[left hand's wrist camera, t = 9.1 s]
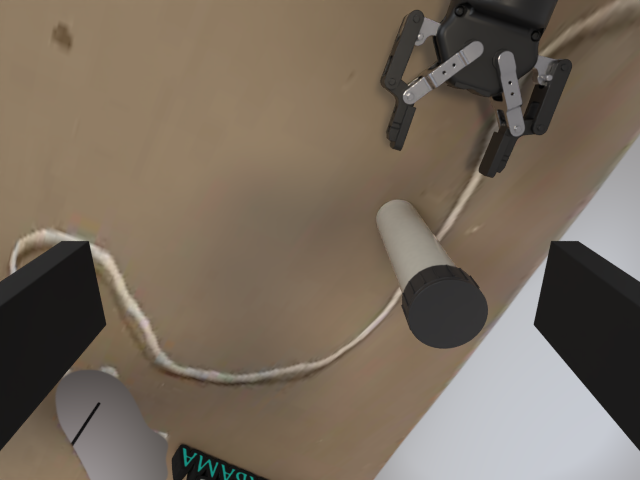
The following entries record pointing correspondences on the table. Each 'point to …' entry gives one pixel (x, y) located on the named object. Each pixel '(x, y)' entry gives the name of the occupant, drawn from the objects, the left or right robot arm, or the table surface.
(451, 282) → the lid
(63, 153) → the table surface
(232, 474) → the decorative sign
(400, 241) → the jar
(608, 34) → the table surface
